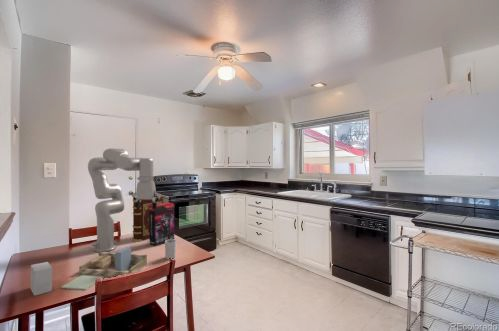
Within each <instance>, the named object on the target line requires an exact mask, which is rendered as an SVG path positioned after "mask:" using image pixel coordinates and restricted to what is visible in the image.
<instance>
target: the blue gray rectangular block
mask: <svg viewBox="0 0 499 331" xmlns="http://www.w3.org/2000/svg"><path fill="white" fill-rule="evenodd" d="M114 253H115V264H114V266H115V268H114V270H115V271H128V270H129V269H130V268H132V265H131V254H132V247H131V246H124V247H122V248H121V249H119V250H117V251H116V252H114Z"/></svg>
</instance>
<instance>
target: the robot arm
mask: <svg viewBox="0 0 499 331" xmlns="http://www.w3.org/2000/svg"><path fill="white" fill-rule="evenodd" d="M87 163H88V164H87V170H88V173H89V175H90V178H91V181H92V185H93V186H92V187H93V191H94V194H95V198H96V199H99V200H100V201H99V202H97V203H96V204H95V207H94V210H95V216H96V241H93V242H92V244H91V246H93V247H94V246H95V247H94V248H93V250H94V252H96V253H99V252H107V253H108V252H111V251H113V250H115V249H116V248H117V244H115V243H114V241H115V240H114V238H115V237H114V234H115V229H114V228H115V222H114V218H113V217H112V216H111V215H115V214H116V215H117V214H120V213H122V212H123V211H124V210H125V201H124V196H123V191H122V188H121V186H120V185H118V184H117V183H109V182H108V177H107V176H106V175H105V173H104V172H103V171H115V170H117V169H121V170H123V171H126V172H127V171H128V172H130V171H131V172H132V171H133V172H134V171H138V173H139V174H138V177H137V184H136V190H135V193H132V194H131V196H132V200H133V199H134V200H135V202H136V209H140V200H141V199H143V200H150V199H151V200H152V201H153V210H154V209H156V208H157V202H158V200H159V199H160V197H162V194H161V193H158V192H157V191H156V190H157V188H156V184H155V181H154V159H153V158H151V157H144V158H143V157H129V153H128V151H127V150H125V149H123V148H113V147H112V148H107V149H105V150H104V151H103V152H102V157H101V156H100V157H93V158H91V159H89V161H88V162H87ZM156 196H157V198H156ZM105 199H106V200H105Z"/></svg>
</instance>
